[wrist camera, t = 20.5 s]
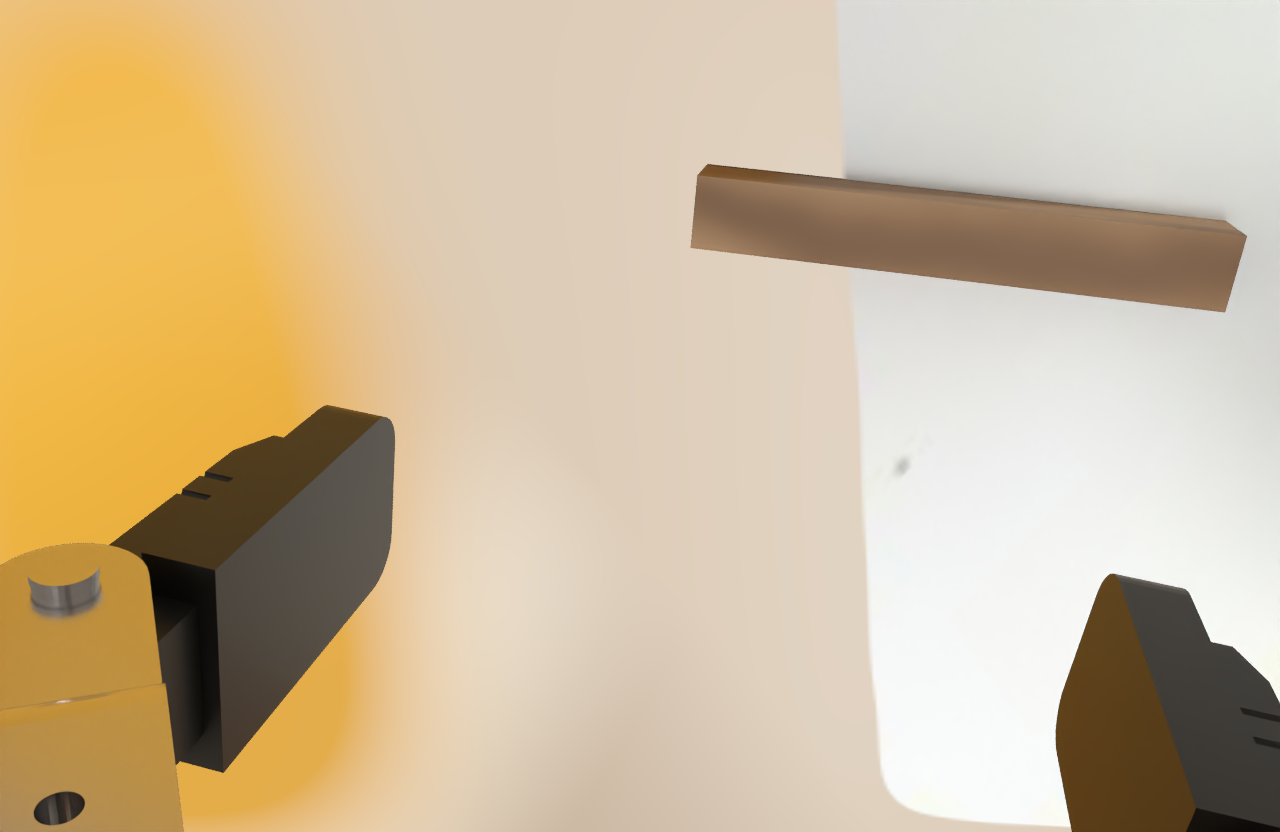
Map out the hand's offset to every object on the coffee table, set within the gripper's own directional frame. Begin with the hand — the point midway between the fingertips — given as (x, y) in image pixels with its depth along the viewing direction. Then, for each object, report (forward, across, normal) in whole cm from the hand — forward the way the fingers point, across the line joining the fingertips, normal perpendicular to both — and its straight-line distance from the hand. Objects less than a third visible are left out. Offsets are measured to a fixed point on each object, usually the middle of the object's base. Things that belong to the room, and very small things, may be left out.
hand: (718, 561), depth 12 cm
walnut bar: (+37, -5, +4) cm, 38 cm away
